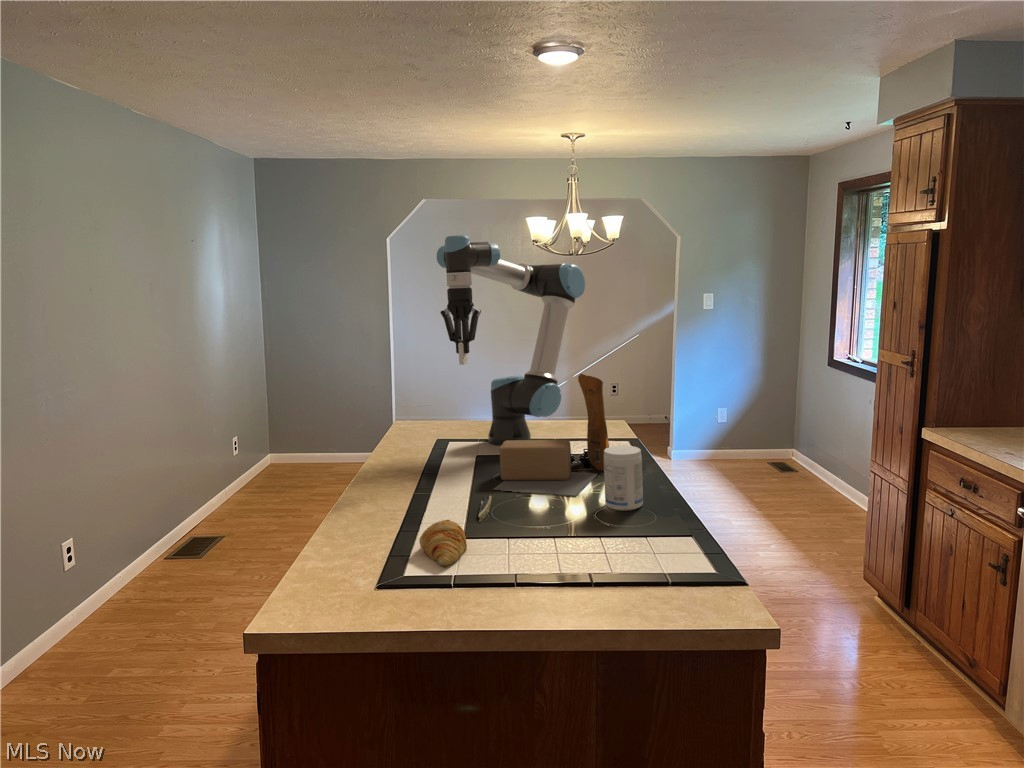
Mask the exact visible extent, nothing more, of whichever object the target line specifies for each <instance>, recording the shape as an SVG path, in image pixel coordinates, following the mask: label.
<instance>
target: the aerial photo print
mask: <svg viewBox="0 0 1024 768" xmlns="http://www.w3.org/2000/svg"><path fill="white" fill-rule="evenodd" d="M492 496H493V495H484V497H483V500H481V502H480V505H479V510H478V518H479V520H478V523H480V522H481V521H482V520H483V519H484V518H485V517H486V515H487V514H488V512H489V510H490V505H491V501H492ZM514 496H516V497H518V496H525V497H529V498H531V497H532V494H531V495H529V494H527V495H526V494H525V495H521V494H520V495H517V494H516V495H513V497H514ZM516 497H515V498H516ZM481 523H482V522H481Z"/></svg>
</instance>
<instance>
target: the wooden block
mask: <svg viewBox="0 0 1024 768" xmlns="http://www.w3.org/2000/svg"><path fill="white" fill-rule="evenodd" d="M571 450H572V449H571V442H570V440H569V439H531V440H506V441H504V442H503V444H502V445H500V448H499V467H500V479H501V480H502V481H503V482H504V481H510V480H568V479H569V478H570V473H571V472H572V458H571V456H572V455H571V453H572V452H571Z"/></svg>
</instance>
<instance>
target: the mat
mask: <svg viewBox="0 0 1024 768" xmlns="http://www.w3.org/2000/svg"><path fill="white" fill-rule="evenodd" d="M597 476H598V473H596V472H595V473H593V472H575V471H571V473H570V478H569V479H568V480H510V481H504V480H503V481H502V482H501V483H500V484H498V485H496V487H494V488H493V489H495V490H504V491H512V492H511V493H517V492H520V493H521V494H531V495H532V494H534V495H545V496H555V497H556V496H557V497H569V498H570V497H572V498H576V497H577V496H578V495H579V494H580V493H582V491H583V490H584V489H585V488H586V487H587V486H588V485H589V484H590V483H591V482H592V481H593V480H594V479H595V478H596V477H597ZM520 493H519V494H520Z"/></svg>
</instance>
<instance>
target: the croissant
mask: <svg viewBox="0 0 1024 768" xmlns="http://www.w3.org/2000/svg"><path fill="white" fill-rule="evenodd" d="M466 537H467V536H466V534H465V531H464V530H463V528H462V526H461V525H460V524H458V523H457V522H455V521H452V520H451V519H445V520H441V521H440V520H439V521H437V522H435V523H432V524H431V525H430V526H429V527H427V528H426V529H425V530H424V531H423V533H422V535H421V536H420V537H419V540H418V541H419V544H420V548H421V549H422V550H423V551H424V553H425V554H426V555H427V556H429V558H431V559H432V560H433V561H435V562H437V563H438V564H439V565H440V566H443V567H446V566H449V565H452V564H453V563H455V562H456V561H458V560H459V559H460V558H462V556H463V554H464V553H466V552H467V549H468V546H467V545H468V544H467V538H466Z"/></svg>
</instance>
